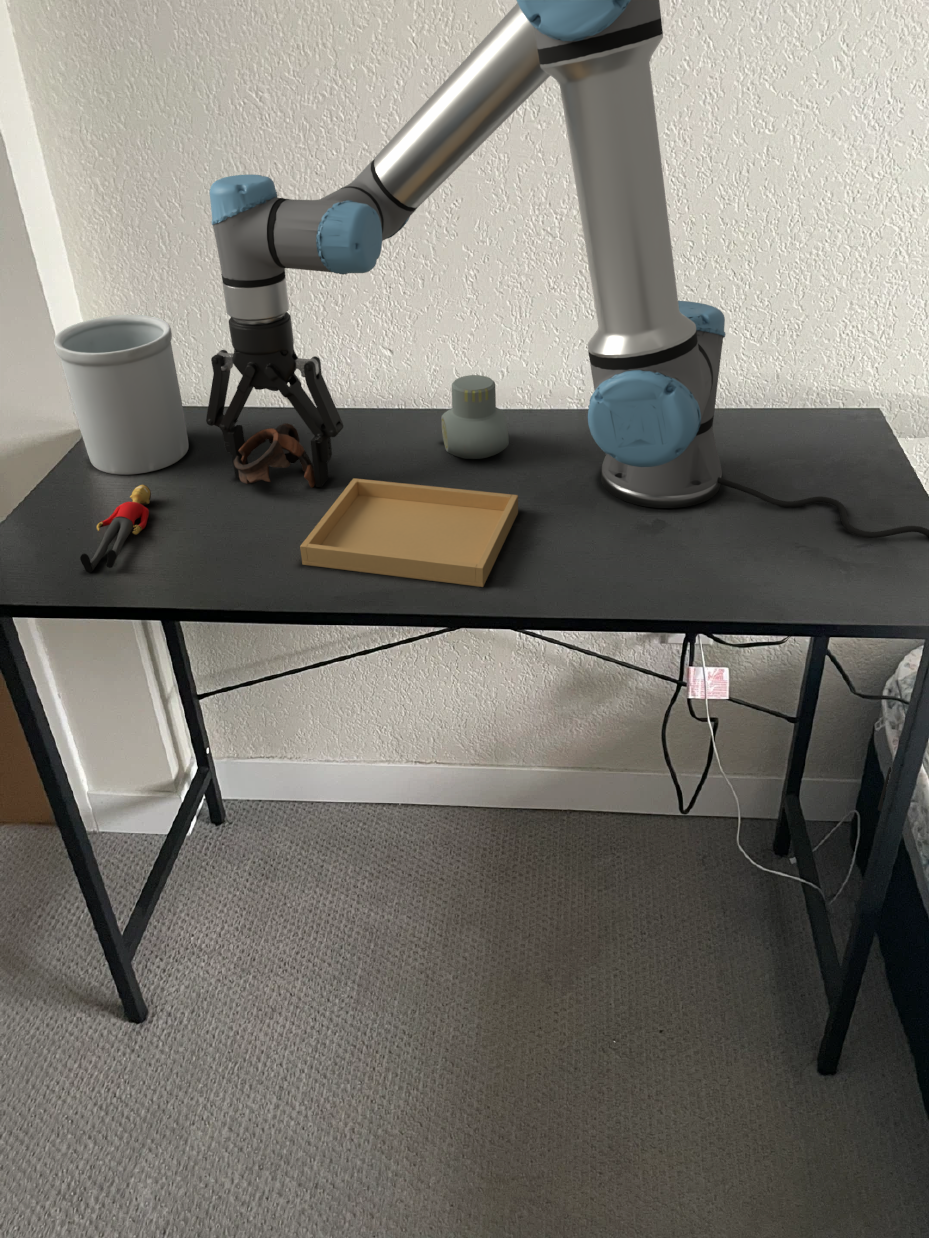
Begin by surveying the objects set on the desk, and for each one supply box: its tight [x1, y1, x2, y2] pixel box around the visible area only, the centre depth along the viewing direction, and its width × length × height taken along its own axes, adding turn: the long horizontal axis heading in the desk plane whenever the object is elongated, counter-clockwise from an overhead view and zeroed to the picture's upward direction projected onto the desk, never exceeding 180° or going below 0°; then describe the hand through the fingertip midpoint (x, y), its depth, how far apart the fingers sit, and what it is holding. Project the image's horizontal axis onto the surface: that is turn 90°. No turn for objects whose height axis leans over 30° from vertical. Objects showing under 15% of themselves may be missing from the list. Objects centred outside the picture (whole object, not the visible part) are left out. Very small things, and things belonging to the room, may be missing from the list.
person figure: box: [79, 484, 152, 574], centre depth 124 cm, size 5×4×18 cm
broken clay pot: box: [234, 422, 316, 488], centre depth 135 cm, size 12×10×8 cm
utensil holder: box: [53, 314, 190, 476], centre depth 139 cm, size 15×15×18 cm
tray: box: [299, 477, 519, 588], centre depth 122 cm, size 22×18×2 cm
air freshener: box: [441, 374, 510, 460], centre depth 139 cm, size 11×8×10 cm
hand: (281, 478), depth 136 cm, fingers open, 11 cm apart
